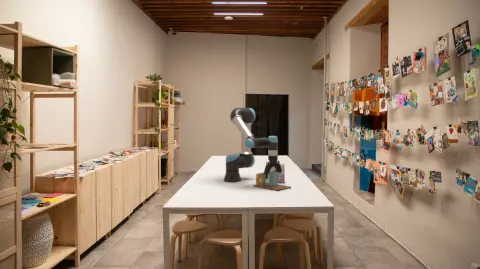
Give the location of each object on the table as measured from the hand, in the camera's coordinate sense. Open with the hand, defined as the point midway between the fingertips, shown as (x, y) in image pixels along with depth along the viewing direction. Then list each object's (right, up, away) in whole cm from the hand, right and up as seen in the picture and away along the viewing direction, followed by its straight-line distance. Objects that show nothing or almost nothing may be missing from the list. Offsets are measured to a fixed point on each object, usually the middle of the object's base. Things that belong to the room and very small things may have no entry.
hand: (272, 181), depth 289 cm
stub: (-2, -3, +2) cm, 4 cm away
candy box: (+5, -4, +21) cm, 22 cm away
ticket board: (-1, -5, +1) cm, 5 cm away
